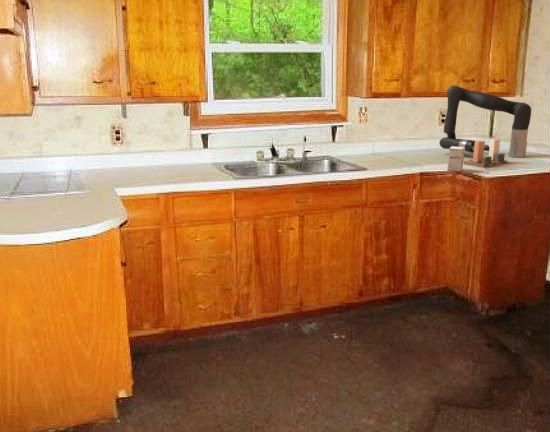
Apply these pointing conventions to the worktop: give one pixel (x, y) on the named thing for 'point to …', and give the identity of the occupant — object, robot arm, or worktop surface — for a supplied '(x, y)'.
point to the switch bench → (488, 161)
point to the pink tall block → (478, 151)
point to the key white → (494, 148)
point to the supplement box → (456, 158)
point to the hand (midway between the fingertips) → (492, 149)
